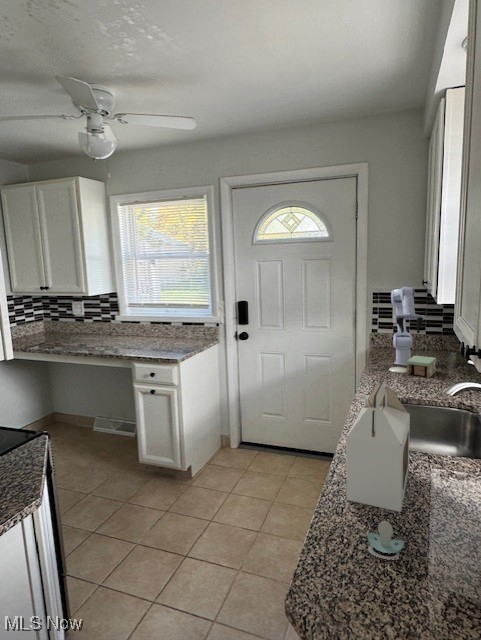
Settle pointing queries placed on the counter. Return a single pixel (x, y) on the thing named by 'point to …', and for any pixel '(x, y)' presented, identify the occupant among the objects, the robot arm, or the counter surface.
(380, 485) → the gable box
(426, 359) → the lid
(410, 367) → the cubby
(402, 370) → the plate
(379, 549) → the pacifier
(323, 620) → the counter surface
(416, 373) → the block
